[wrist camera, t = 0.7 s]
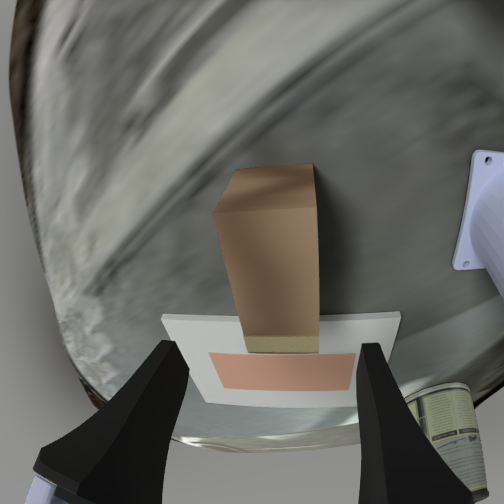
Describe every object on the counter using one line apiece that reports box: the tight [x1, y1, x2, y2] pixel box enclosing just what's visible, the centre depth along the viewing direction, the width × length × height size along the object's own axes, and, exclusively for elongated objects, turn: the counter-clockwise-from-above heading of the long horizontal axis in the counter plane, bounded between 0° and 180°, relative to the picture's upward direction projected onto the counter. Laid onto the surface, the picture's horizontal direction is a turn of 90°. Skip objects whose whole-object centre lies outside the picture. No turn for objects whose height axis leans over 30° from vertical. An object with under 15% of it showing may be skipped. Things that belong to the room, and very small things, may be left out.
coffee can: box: [405, 382, 489, 503], centre depth 23 cm, size 10×10×14 cm
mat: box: [161, 311, 401, 408], centre depth 26 cm, size 18×14×1 cm
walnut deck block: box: [213, 164, 319, 354], centre depth 16 cm, size 4×9×5 cm, turn 9°
